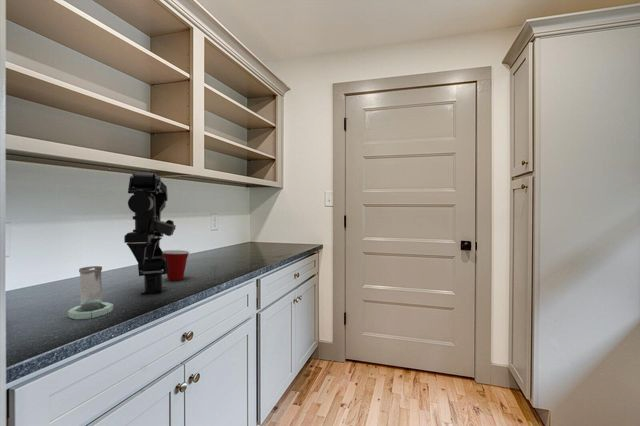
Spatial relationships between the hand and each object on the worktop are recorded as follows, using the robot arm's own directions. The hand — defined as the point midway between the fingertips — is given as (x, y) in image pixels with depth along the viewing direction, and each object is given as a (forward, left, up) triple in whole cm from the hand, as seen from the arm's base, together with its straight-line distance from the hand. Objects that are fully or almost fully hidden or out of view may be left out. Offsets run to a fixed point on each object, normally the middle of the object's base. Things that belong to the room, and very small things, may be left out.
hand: (146, 262), depth 102 cm
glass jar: (+6, -13, -13) cm, 19 cm away
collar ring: (+6, -13, -13) cm, 19 cm away
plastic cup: (-33, +2, -13) cm, 36 cm away
